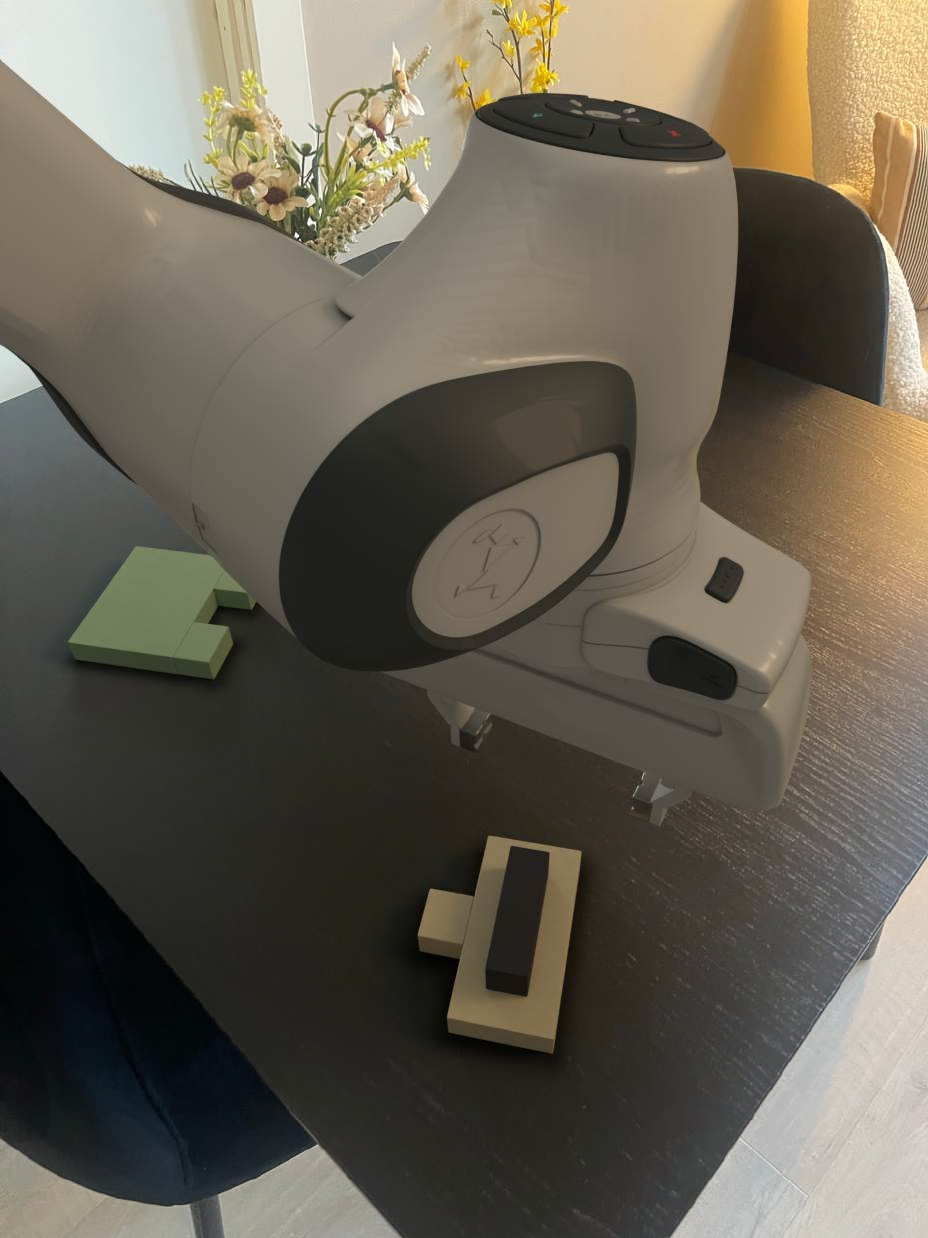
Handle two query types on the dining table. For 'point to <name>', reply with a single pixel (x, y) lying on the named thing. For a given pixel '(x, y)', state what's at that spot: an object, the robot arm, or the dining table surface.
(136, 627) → the green pad
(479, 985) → the cream pad
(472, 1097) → the dining table surface
